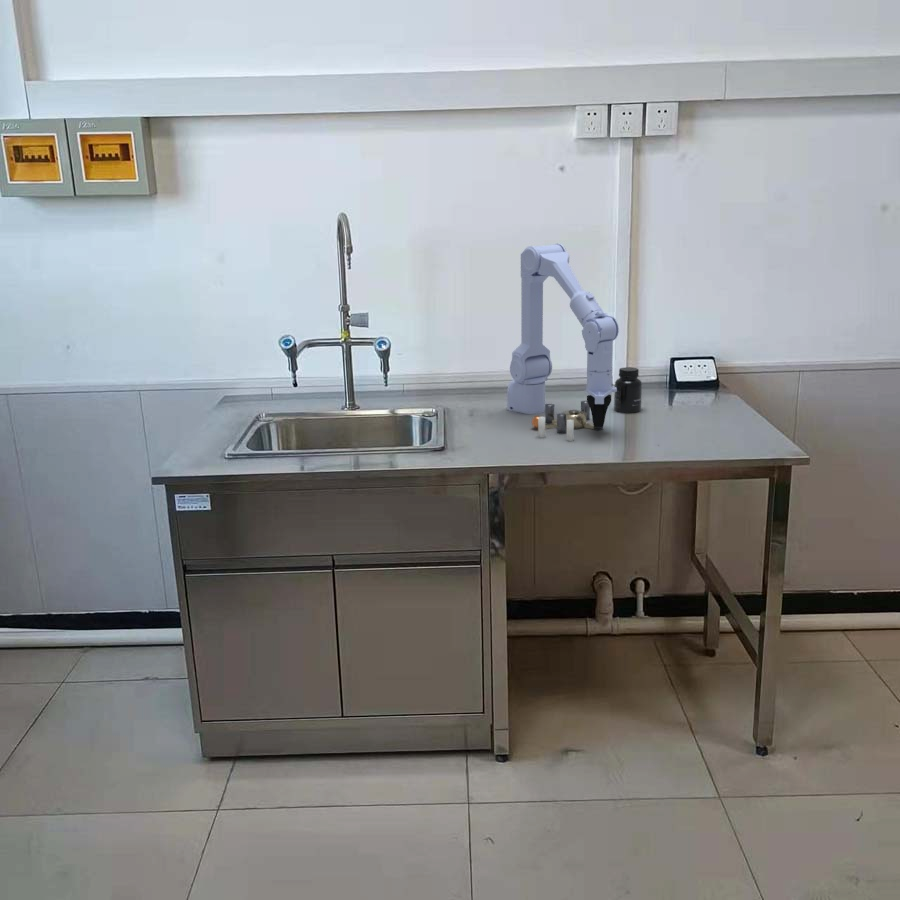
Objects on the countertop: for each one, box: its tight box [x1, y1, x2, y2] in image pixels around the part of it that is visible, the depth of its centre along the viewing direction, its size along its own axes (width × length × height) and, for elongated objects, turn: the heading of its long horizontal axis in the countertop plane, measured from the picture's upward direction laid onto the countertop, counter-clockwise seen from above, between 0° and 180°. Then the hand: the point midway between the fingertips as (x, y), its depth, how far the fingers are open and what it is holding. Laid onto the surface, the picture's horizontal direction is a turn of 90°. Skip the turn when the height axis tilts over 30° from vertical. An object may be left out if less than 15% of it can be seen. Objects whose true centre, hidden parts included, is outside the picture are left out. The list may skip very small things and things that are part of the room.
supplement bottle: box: [613, 367, 643, 415], centre depth 225 cm, size 7×7×12 cm
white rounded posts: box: [537, 415, 575, 442], centre depth 206 cm, size 9×6×5 cm
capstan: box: [531, 400, 604, 435], centre depth 214 cm, size 16×16×4 cm
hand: (598, 426), depth 208 cm, fingers closed
